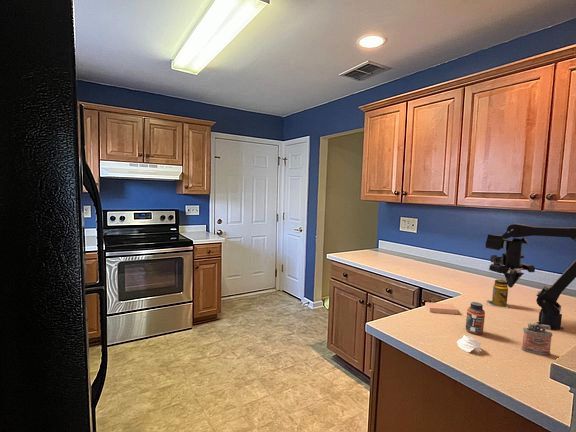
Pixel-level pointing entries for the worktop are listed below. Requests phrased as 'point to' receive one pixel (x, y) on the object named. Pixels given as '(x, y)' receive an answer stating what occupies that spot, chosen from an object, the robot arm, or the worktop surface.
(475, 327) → the supplement bottle
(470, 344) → the whipped cream
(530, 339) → the lighter
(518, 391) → the worktop surface
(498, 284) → the condiment
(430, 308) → the tile
